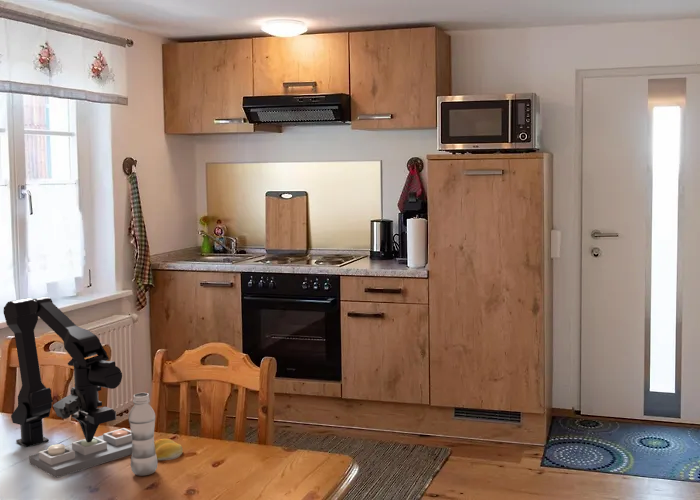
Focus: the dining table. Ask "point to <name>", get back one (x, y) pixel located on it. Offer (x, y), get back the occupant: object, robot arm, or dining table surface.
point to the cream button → (56, 449)
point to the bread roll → (167, 449)
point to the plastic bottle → (142, 436)
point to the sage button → (88, 443)
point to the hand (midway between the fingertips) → (89, 441)
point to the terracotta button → (119, 433)
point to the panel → (84, 454)
